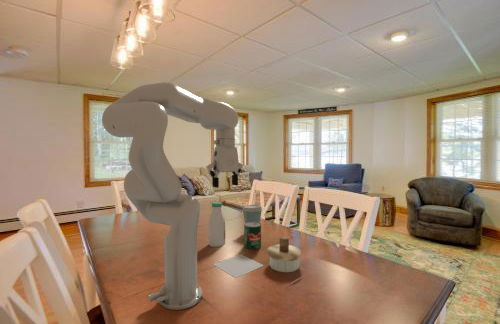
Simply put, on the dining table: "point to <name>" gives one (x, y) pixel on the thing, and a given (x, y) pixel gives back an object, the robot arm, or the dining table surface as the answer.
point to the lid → (284, 251)
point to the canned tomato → (252, 235)
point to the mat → (238, 265)
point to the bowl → (284, 265)
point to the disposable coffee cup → (252, 213)
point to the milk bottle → (216, 226)
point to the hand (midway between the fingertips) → (225, 186)
